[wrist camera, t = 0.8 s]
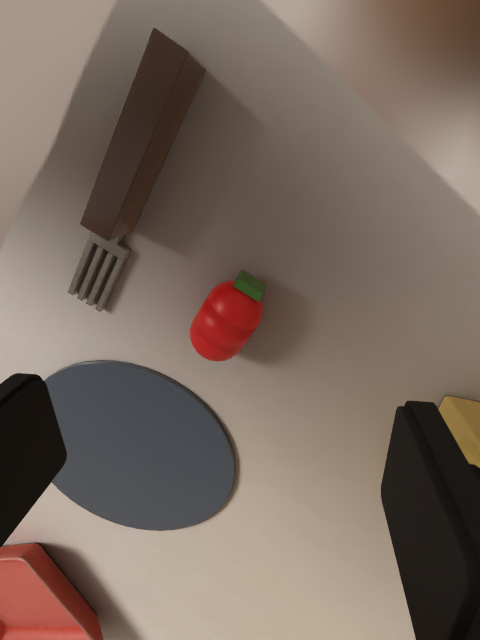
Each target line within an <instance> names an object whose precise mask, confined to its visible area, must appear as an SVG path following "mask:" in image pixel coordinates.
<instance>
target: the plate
mask: <svg viewBox="0 0 480 640" xmlns="http://www.w3.org/2000/svg"><path fill="white" fill-rule="evenodd" d="M44 382H46V384H47V387H48V391H49V394H50V397H51V401H52V404H53V408H54V411H55V414H56V418H57V421H58V424H59V428H60V431H61V434H62V438H63V441H64V444H65V448H66V451H67V459H66V462H65V464H64V466H63V467H62V469H61V470H60V471H59V473H58V474H57V475H56V476H55V478H54V479H53V480H52V483H53V484H54V485H55V486H56V487H57V488H58V489H59V490H60V491H61V492H62V493H63V494H65V495H66V496H67V497H68V498H69V499H71V500H72V501H74V502H75V503H76V504H78V505H79V506H81V507H82V508H84V509H86V510H88V511H89V512H91V513H93V514H95V515H97V516H99V517H101V518H104V519H106V520H109V521H111V522H114V523H117V524H120V525H123V526H127V527H132V528H136V529H144V530H157V531H163V530H175V529H181V528H185V527H189V526H192V525H195V524H197V523H199V522H201V521H204V520H205V519H207V518H208V517H210V516H211V515H213V514H214V513H215V512H216V511H217V510H218V509H219V508H220V507H221V506H222V505H223V503H224V502H225V501H226V499H227V497H228V495H229V493H230V491H231V488H232V484H233V480H234V473H235V463H234V455H233V451H232V446H231V444H230V441H229V439H228V436H227V434H226V432H225V430H224V429H223V427H222V425H221V423H220V422H219V420H218V419H217V418H216V416H215V415H214V414H213V412H212V411H211V410H210V409H209V408H208V407H207V406H206V405H205V404H204V403H203V402H202V401H201V400H200V399H199V398H198V397H197V396H195V395H194V394H193V393H192V392H191V391H189V390H188V389H186V388H185V387H183V386H182V385H180V384H179V383H178V382H176V381H174V380H172V379H170V378H168V377H167V376H165V375H163V374H161V373H158V372H156V371H153V370H151V369H148V368H145V367H142V366H138V365H135V364H131V363H125V362H119V361H108V360H96V361H86V362H81V363H76V364H72V365H70V366H67V367H65V368H62V369H60V370H58V371H57V372H55V373H53V374H52V375H50V376H49V377H48V378H47V379H46V380H44Z"/></svg>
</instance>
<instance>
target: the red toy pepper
mask: <svg viewBox="0 0 480 640" xmlns="http://www.w3.org/2000/svg"><path fill="white" fill-rule="evenodd" d="M265 288H266V284H264V283H262V282H261V281H259V280H258V279H256V278H255V277H253V276H252V275H250V274H249V273H247V272H245V271H244V270H241V272H240V273H239V275H238V276H237V278H236V280H235V281H226V282H223V283H221V284H219V285H217V286H216V287H215V288H214V289H213V290H212V291H211V292H210V294H209V295H208V297H207V298H206V300H205V302H204V303H203V305H202V306H201V308H200V310H199V311H198V313H197V315H196V316H195V318H194V320H193V322H192V324H191V328H190V339H191V342H192V345H193V347H194V348H195V350H196V351H197V352H198V354H200V355H201V356H202V357H204V358H206V359H208V360H212V361H224V360H227V359H230V358H232V357H233V356H235V355H236V354H237V353H238V352H239V351H240V350H241V349H242V347H243V346H244V344H245V343H246V342H247V340H248V339H249V338H250V336H251V335H252V333H253V332H254V331H255V329H256V328H257V327H258V325H259V323H260V321H261V318H262V314H263V305H262V301H261V298H262V297H263V295H264V292H265Z"/></svg>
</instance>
